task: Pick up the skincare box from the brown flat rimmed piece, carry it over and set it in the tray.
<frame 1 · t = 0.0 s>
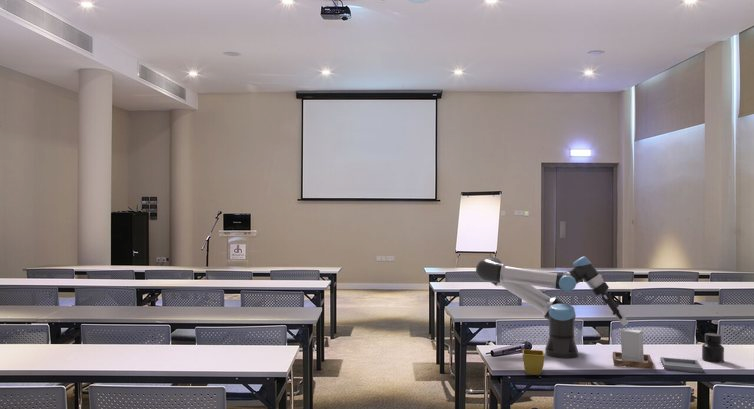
hand: (625, 322, 296), 15 cm above the table, tool tilted 35°, fingers open, 13 cm apart
tray: (680, 366, 271), on the table
skincare box: (632, 363, 278), resting in brown flat rimmed piece
ink bottle: (712, 360, 284), on the table
flower pot: (533, 374, 258), on the table
brown flat rimmed piece: (632, 362, 278), on the table
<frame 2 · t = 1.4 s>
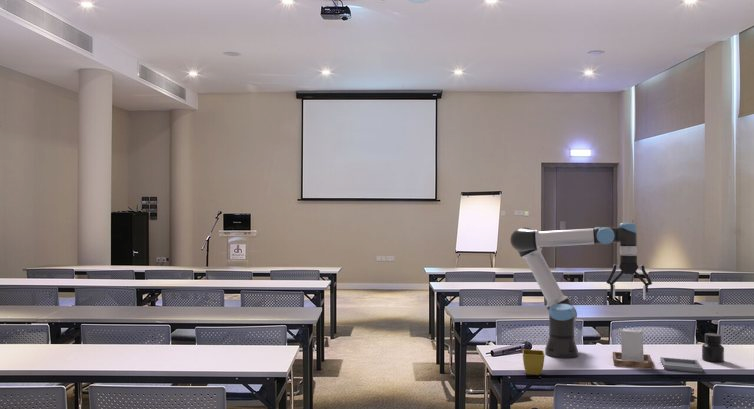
hand: (629, 299, 294), 27 cm above the table, tool pointing down, fingers open, 13 cm apart
nothing on the table moved.
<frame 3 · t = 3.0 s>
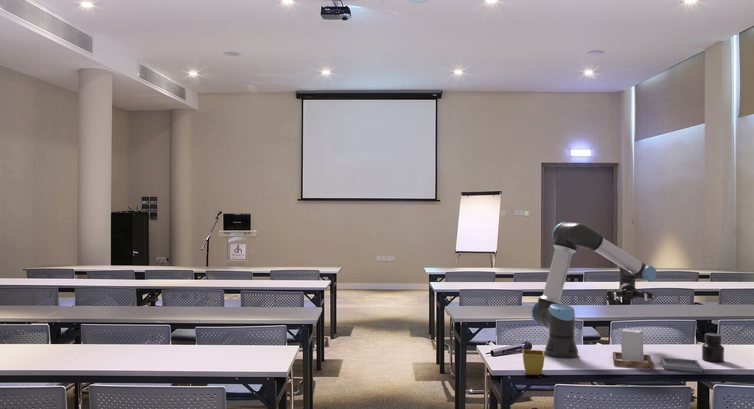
hand: (630, 297, 289), 28 cm above the table, tool horizontal, fingers open, 13 cm apart
nothing on the table moved.
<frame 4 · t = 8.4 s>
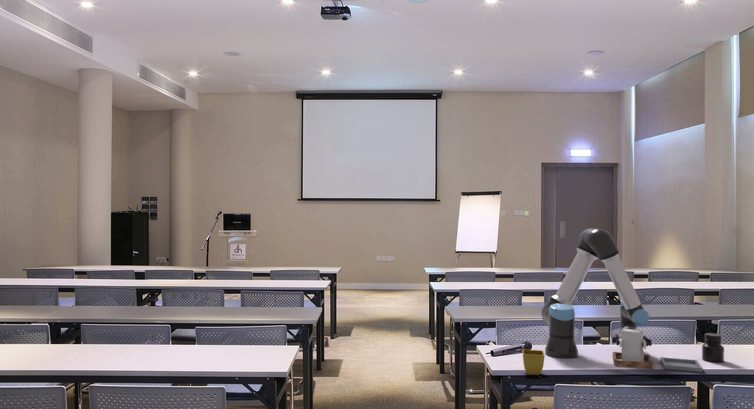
hand: (632, 345, 274), 9 cm above the table, tool horizontal, fingers closed on skincare box, 9 cm apart
skincare box: (632, 363, 278), resting in brown flat rimmed piece, touching gripper
everything else where it was.
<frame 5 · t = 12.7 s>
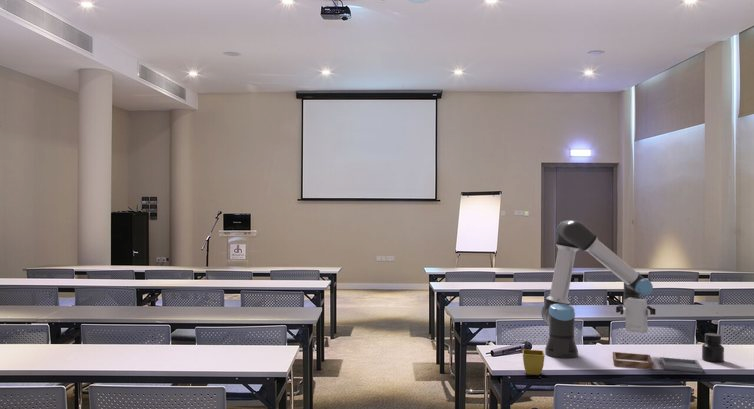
hand: (637, 313, 273), 23 cm above the table, tool horizontal, fingers closed on skincare box, 9 cm apart
skincare box: (636, 332, 278), point 14 cm above the table, touching gripper
everything else where it was.
when the fingers open (11 cm above the table, at t = 17.5 s): skincare box drops 1 cm, resting on tray.
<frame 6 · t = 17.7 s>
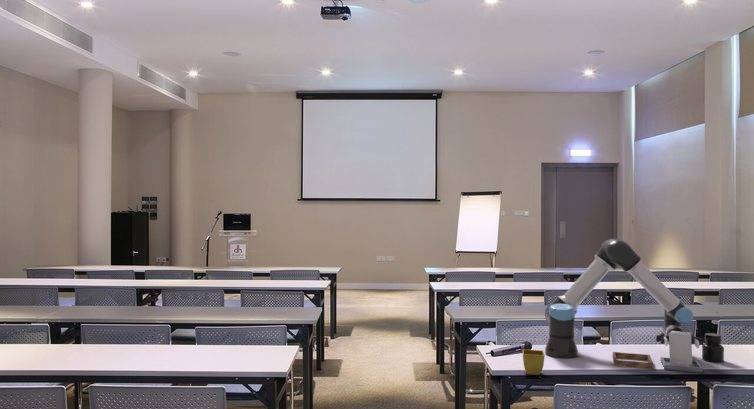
hand: (682, 343, 268), 11 cm above the table, tool horizontal, fingers open, 12 cm apart
skincare box: (680, 366, 271), resting on tray
everything else where it was.
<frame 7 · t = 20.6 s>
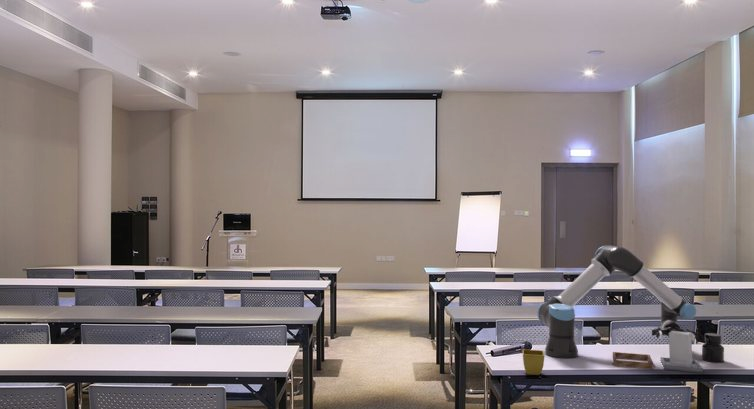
hand: (677, 337, 281), 11 cm above the table, tool horizontal, fingers open, 13 cm apart
nothing on the table moved.
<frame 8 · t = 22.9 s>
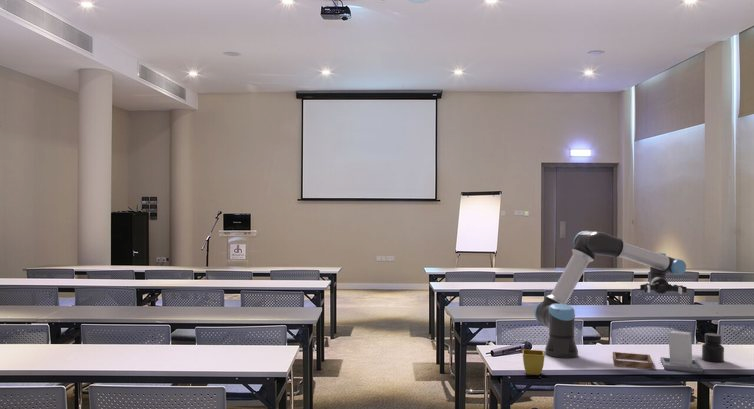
hand: (665, 290, 286), 32 cm above the table, tool horizontal, fingers open, 13 cm apart
nothing on the table moved.
at the end: skincare box inside the target area on the tray (0.1 cm from its centre), point 0.4 cm above the tray's base; skincare box tilted 0°; the gripper is holding nothing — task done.
